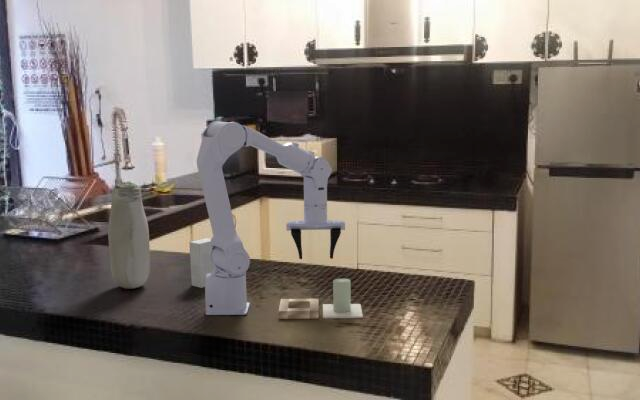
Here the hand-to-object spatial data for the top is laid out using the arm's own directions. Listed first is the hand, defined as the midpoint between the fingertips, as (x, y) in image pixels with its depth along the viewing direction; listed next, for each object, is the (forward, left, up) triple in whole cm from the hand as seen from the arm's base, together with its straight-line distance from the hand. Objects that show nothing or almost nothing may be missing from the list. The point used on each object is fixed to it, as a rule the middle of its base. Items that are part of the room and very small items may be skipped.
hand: (316, 258), depth 167 cm
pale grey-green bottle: (-49, +8, -10) cm, 51 cm away
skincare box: (-30, +10, -10) cm, 33 cm away
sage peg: (+6, -14, -9) cm, 18 cm away
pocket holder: (-4, -14, -9) cm, 17 cm away
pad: (+6, -14, -9) cm, 18 cm away
